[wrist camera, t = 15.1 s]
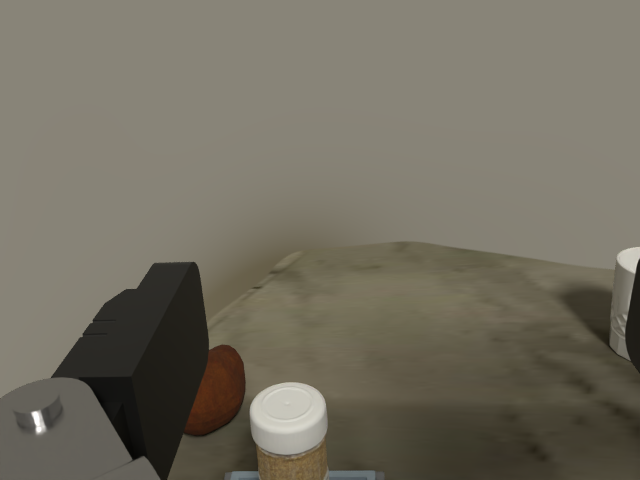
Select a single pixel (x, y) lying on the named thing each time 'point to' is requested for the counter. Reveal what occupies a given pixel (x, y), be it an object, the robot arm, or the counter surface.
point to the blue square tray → (335, 477)
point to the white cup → (622, 298)
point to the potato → (218, 392)
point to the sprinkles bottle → (290, 432)
